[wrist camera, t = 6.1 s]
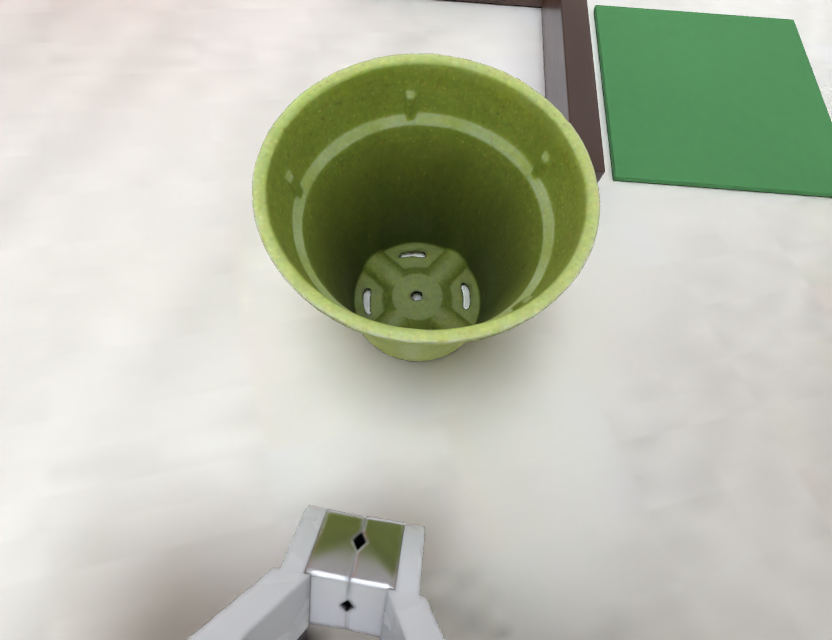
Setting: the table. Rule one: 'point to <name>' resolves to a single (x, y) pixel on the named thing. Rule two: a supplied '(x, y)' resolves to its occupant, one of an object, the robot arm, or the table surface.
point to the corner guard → (569, 69)
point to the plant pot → (425, 201)
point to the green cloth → (712, 102)
